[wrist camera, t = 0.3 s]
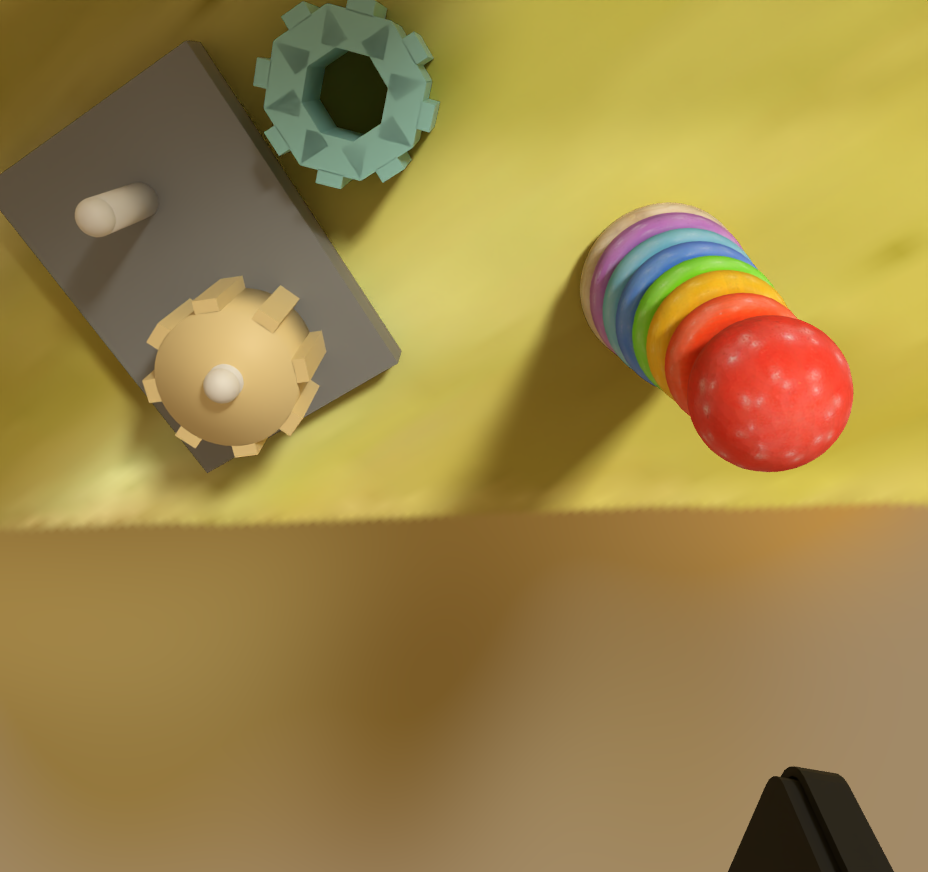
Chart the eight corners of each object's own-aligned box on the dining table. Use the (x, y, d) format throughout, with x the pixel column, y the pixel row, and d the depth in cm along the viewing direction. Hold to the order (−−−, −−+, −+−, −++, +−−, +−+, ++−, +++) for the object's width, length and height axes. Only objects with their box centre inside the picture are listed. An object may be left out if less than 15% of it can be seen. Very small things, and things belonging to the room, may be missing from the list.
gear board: (4, 182, 41) (-97, 205, 34) (199, 42, 39) (135, 35, 31) (217, 457, 47) (170, 526, 40) (401, 350, 44) (385, 404, 37)
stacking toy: (634, 386, 45) (729, 583, 27) (546, 265, 42) (591, 398, 25) (767, 297, 43) (960, 449, 25) (683, 165, 40) (834, 234, 23)
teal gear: (245, 62, 39) (217, 61, 35) (382, -34, 37) (370, -47, 33) (337, 206, 41) (321, 221, 37) (469, 122, 40) (468, 128, 36)
